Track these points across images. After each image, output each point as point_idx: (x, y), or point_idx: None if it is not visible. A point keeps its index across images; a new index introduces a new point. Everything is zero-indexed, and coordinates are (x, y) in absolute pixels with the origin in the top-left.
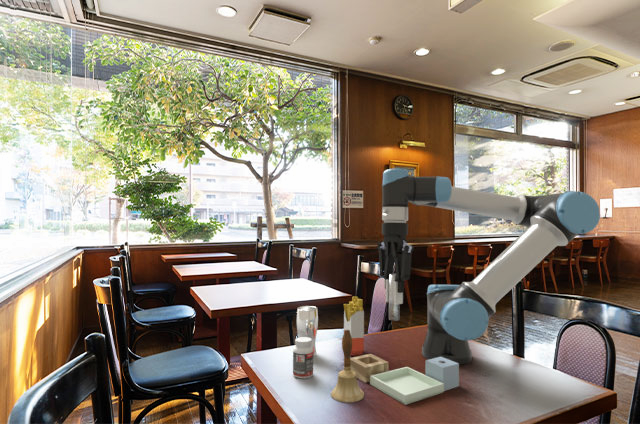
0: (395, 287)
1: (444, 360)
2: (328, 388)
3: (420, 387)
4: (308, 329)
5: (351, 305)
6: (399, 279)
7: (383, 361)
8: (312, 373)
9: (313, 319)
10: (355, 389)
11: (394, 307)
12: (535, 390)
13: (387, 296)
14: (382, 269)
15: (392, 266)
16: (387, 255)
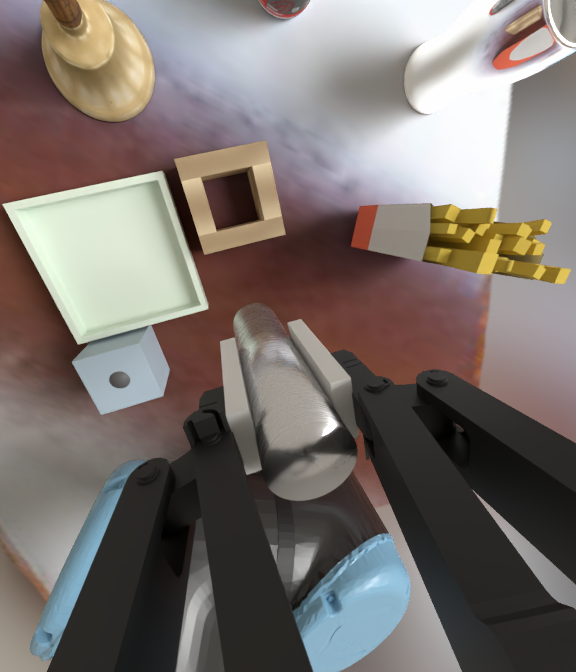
0: (226, 388)
1: (131, 391)
2: (159, 21)
3: (109, 292)
4: (470, 16)
5: (485, 220)
6: (194, 449)
7: (212, 242)
8: (262, 3)
9: (500, 23)
10: (58, 63)
11: (238, 336)
12: (74, 509)
13: (295, 335)
14: (453, 412)
15: (401, 519)
16: (502, 644)
